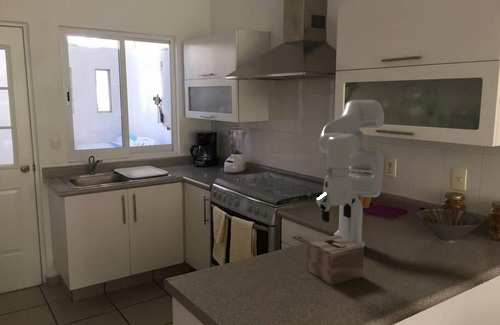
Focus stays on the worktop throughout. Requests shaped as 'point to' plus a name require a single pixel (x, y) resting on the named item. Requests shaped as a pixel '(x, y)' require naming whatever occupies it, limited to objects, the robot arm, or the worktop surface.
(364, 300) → the worktop surface
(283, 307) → the worktop surface
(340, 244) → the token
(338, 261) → the box
